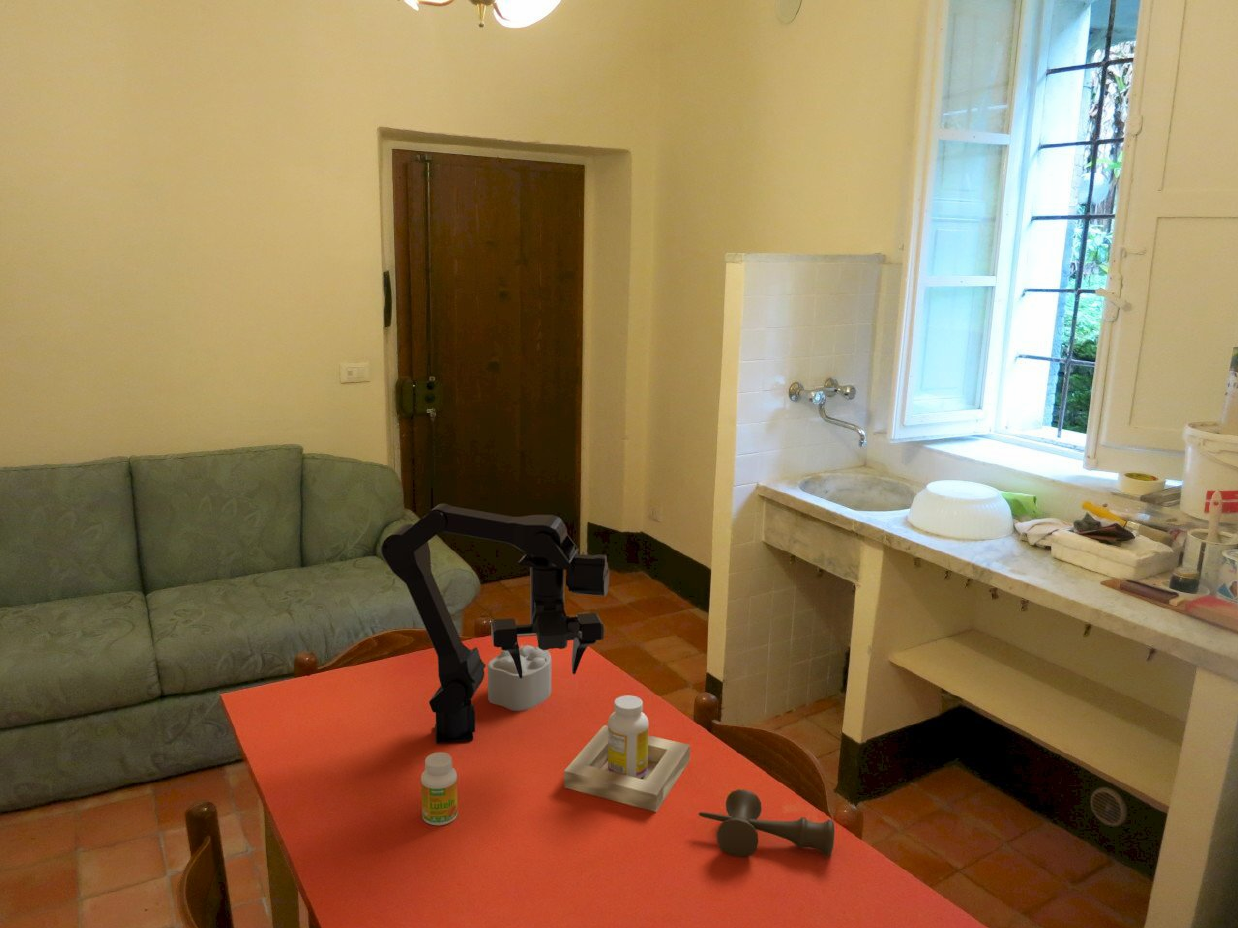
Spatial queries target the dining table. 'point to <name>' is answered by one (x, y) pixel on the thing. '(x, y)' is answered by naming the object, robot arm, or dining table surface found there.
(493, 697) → the lumpy-topped squat cylinder
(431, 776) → the supplement bottle
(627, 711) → the supplement bottle
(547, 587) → the robot arm
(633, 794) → the birch well block
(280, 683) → the dining table surface
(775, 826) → the kendama
